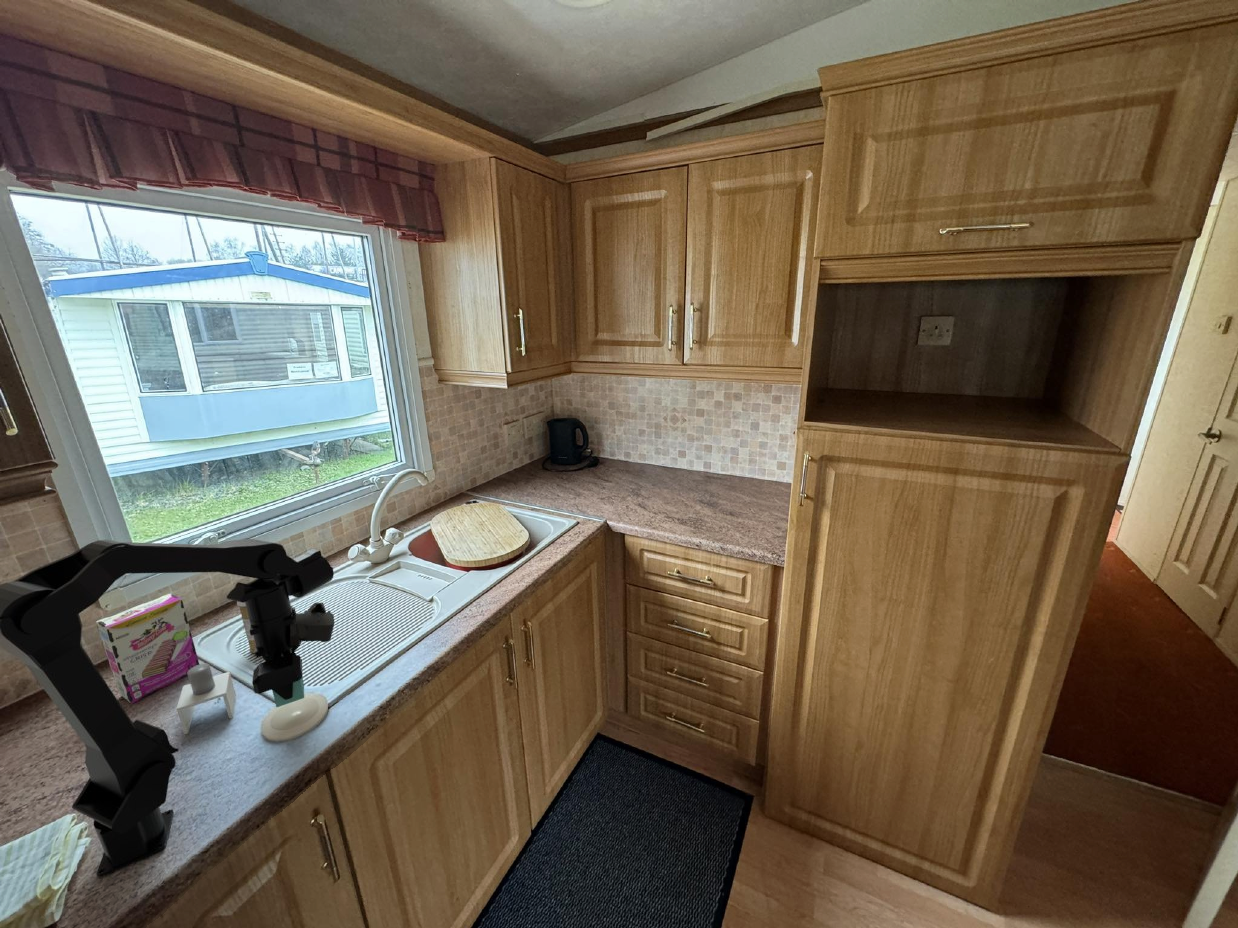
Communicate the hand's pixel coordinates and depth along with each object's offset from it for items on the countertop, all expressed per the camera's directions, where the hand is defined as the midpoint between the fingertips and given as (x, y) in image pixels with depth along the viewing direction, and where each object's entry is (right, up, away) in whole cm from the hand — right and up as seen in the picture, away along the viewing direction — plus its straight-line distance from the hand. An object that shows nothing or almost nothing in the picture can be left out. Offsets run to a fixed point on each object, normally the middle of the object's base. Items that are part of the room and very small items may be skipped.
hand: (289, 690), depth 84 cm
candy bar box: (-33, -4, +11) cm, 35 cm away
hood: (-16, -6, +3) cm, 17 cm away
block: (0, -1, 0) cm, 1 cm away
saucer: (0, -6, +2) cm, 6 cm away
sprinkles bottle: (-20, -1, +21) cm, 29 cm away
